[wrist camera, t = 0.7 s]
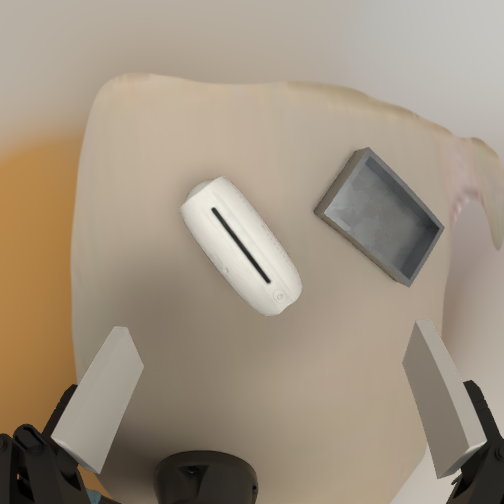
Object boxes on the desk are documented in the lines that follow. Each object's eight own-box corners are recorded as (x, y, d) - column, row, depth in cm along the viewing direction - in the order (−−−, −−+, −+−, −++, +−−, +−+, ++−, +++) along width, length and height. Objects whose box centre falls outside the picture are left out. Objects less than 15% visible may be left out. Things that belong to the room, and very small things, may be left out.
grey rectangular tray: (395, 280, 33) (409, 287, 30) (313, 212, 30) (323, 213, 27) (429, 225, 32) (444, 227, 30) (355, 151, 30) (368, 147, 27)
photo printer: (280, 260, 31) (323, 296, 19) (246, 286, 31) (268, 338, 19) (218, 176, 29) (223, 158, 17) (182, 203, 29) (161, 204, 16)
